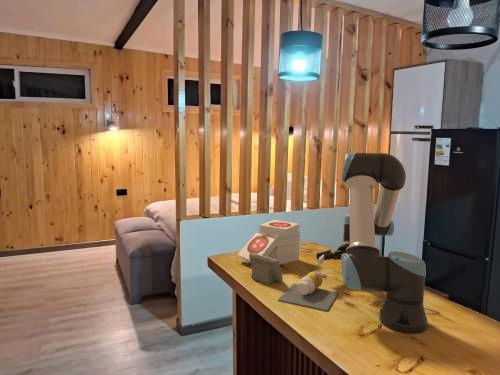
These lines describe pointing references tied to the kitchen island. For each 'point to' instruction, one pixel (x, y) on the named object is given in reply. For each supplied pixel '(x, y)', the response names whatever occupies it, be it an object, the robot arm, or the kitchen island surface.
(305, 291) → the supplement bottle
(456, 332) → the kitchen island surface
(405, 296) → the robot arm
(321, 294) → the mat
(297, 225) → the pizza boxes
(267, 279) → the digital clock
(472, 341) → the kitchen island surface
